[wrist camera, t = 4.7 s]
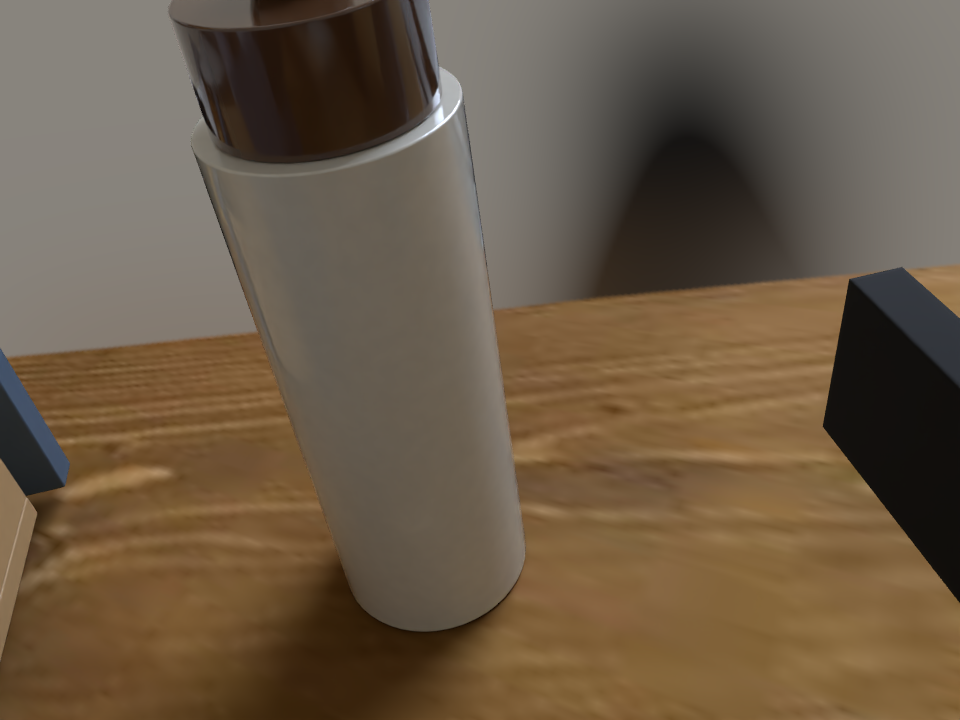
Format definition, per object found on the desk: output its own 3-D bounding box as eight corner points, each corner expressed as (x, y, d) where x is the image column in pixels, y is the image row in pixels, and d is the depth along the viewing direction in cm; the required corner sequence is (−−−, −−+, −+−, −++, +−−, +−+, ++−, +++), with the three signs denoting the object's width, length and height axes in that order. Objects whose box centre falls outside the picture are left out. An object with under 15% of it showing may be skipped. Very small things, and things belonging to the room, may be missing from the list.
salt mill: (502, 468, 29) (406, -164, 18) (546, 604, 25) (457, -112, 13) (339, 507, 29) (128, -115, 17) (355, 653, 25) (89, -45, 13)
